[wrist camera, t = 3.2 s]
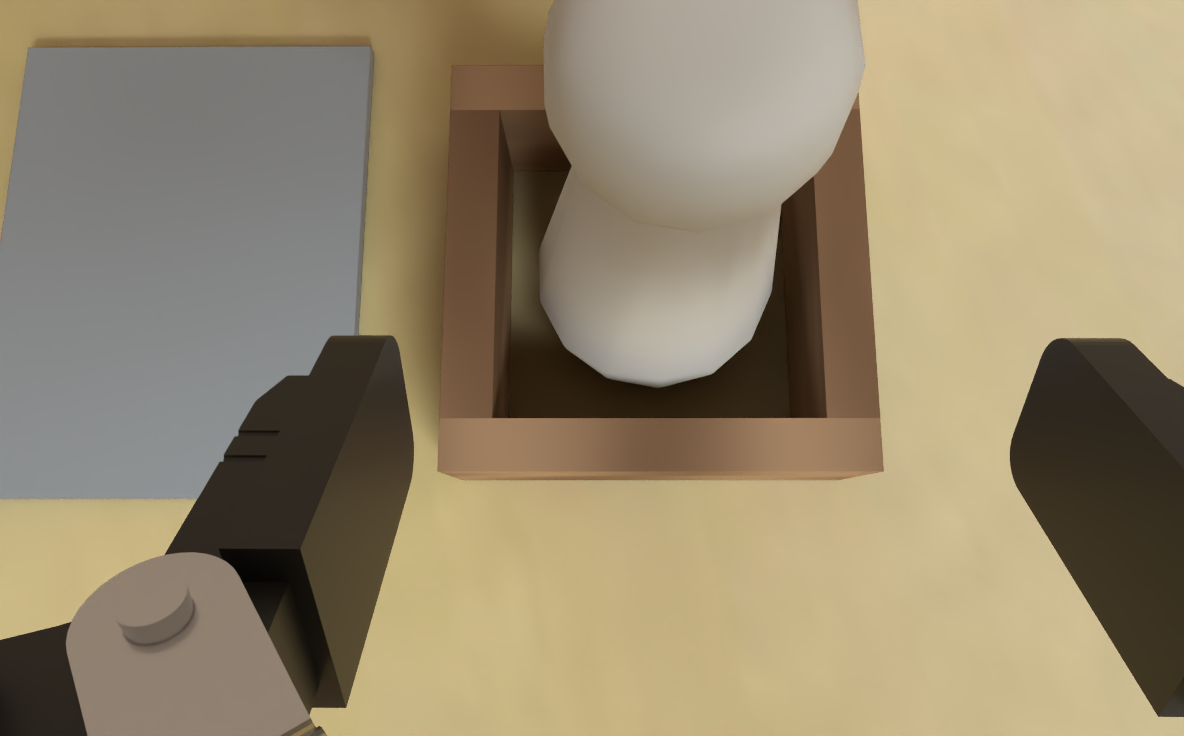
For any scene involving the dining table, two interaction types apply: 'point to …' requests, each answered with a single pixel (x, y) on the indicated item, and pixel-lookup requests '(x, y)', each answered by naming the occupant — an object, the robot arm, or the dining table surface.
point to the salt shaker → (682, 168)
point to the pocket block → (647, 445)
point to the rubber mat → (171, 255)
